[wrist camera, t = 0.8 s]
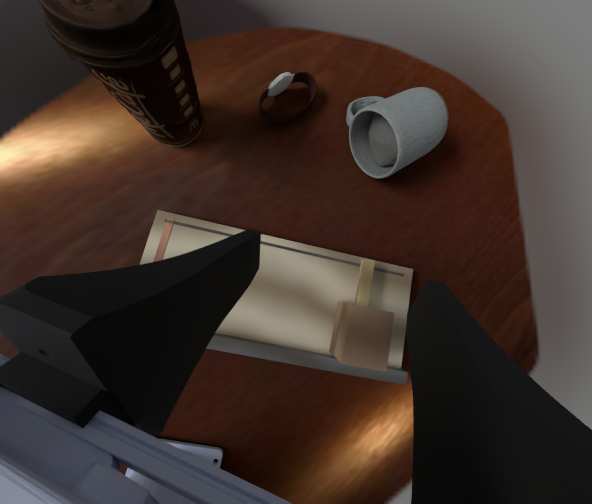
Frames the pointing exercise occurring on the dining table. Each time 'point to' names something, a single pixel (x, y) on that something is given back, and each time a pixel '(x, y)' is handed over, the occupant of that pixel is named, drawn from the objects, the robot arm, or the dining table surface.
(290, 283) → the cream flat tray
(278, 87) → the watch
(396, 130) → the ceramic mug
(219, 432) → the dining table surface
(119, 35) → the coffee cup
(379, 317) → the marking gauge
